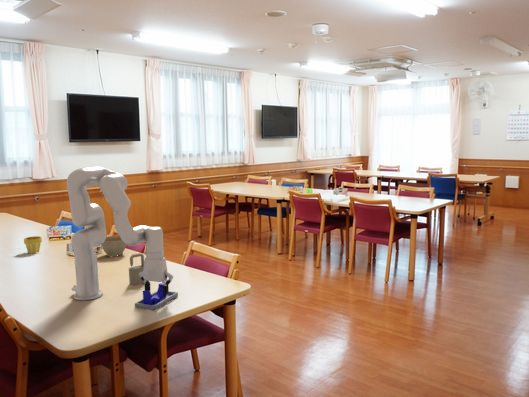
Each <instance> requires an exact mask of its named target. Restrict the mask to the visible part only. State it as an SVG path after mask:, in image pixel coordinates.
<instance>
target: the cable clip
mask: <svg viewBox="0 0 529 397" xmlns="http://www.w3.org/2000/svg"><path fill="white" fill-rule="evenodd" d="M163 286H164V285H163V283H162V282H159V283H158V288H157V290H156V291H157V293H156V294H155V295H154V296H153V297H152V295H151V294H152V292H151V290H150V291H148V290H145V289H144V290H142V299H143V304H148V305H154V304H156V303H158V302H160V300H161V299H163V298H165V297H166V294H165V295H163Z"/></svg>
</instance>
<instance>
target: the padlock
mask: <svg viewBox="0 0 529 397" xmlns="http://www.w3.org/2000/svg"><path fill="white" fill-rule="evenodd" d="M138 257H140V263H141V265H135V266H134V258H138ZM144 260H145V254H143V253H140V252H139V253H136V254H131V256H130V257H129V264H130V266H131V267H129V268H128V277H129V278H128V279H129V280H128V282H129V285H131V286H134V285H135V286H136V285H140V284H144V283H143V281H142V280H141V277H140V275H139V273H140V272H142V271H143V267H144Z"/></svg>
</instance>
